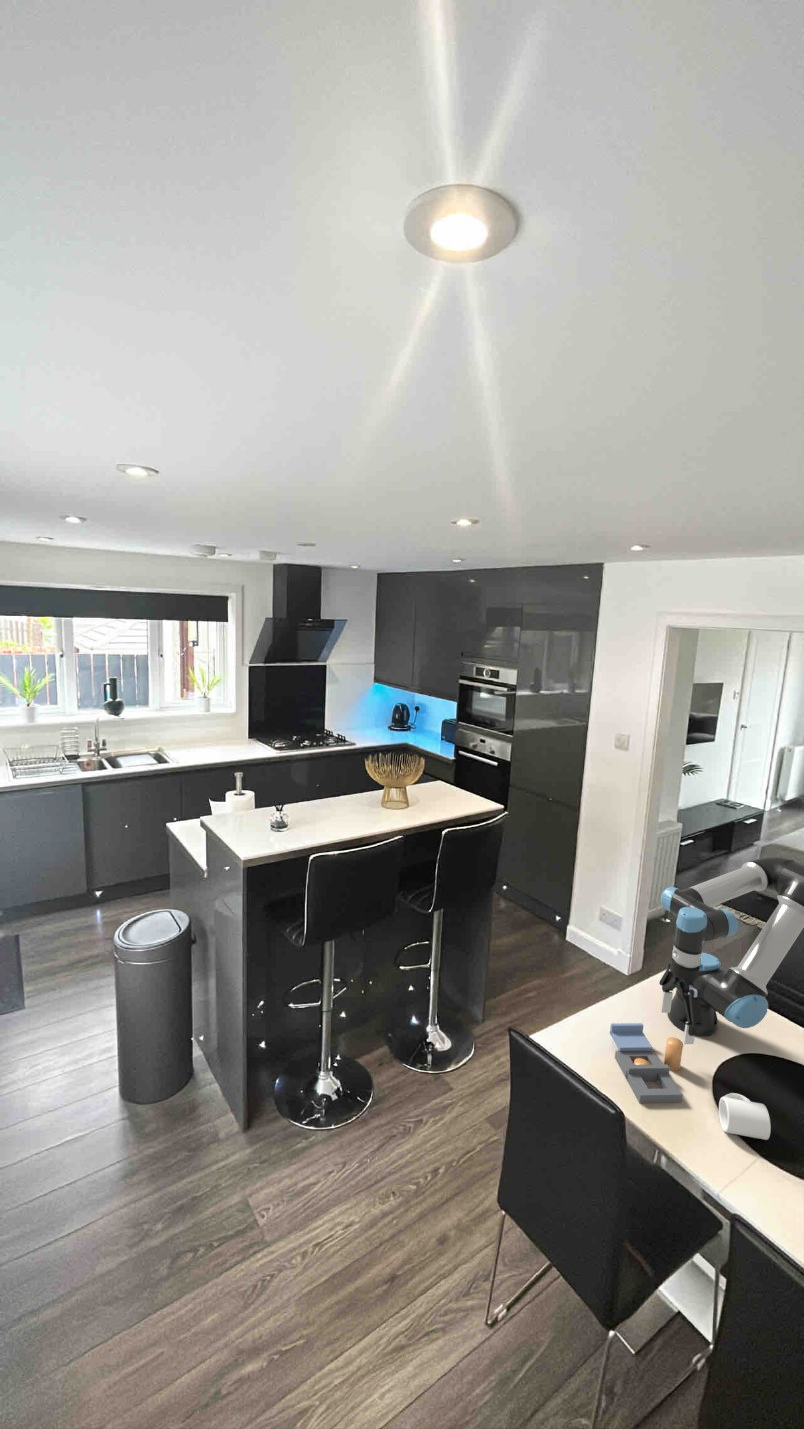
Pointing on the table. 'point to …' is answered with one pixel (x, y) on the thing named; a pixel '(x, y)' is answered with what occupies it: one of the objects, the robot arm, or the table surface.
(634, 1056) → the housing
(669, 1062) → the pin
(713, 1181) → the table surface
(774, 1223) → the table surface
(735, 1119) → the mug
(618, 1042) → the lid
